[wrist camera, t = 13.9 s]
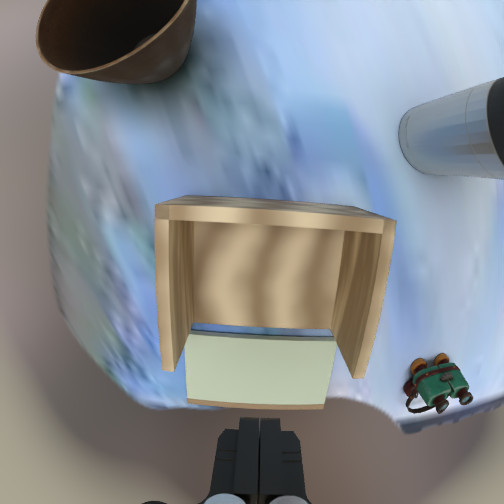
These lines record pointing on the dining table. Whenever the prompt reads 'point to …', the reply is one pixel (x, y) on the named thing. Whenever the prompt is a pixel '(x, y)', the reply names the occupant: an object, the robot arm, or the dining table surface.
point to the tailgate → (258, 370)
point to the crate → (271, 270)
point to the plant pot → (116, 38)
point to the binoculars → (436, 384)
